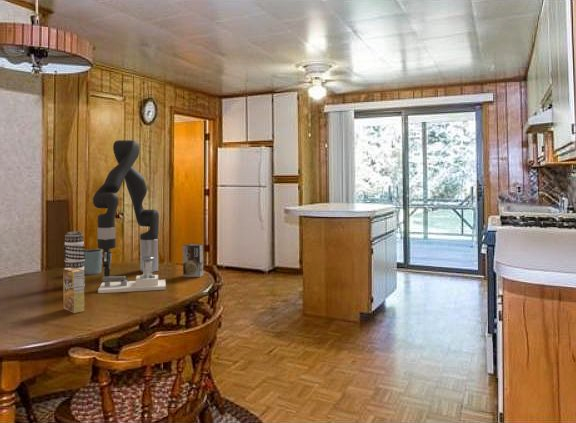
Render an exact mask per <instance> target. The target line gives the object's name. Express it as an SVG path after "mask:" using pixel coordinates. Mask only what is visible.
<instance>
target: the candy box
mask: <svg viewBox="0 0 576 423" xmlns="http://www.w3.org/2000/svg"><path fill="white" fill-rule="evenodd" d="M62 274H63V275H62V277H63V278H62V281H63V282H62V283H63V284H62V286H63V288H62V290H63V293H62V294H63V295H62V296H63V299H62V300H63V309H64V310H66V311H69V312H71V313H72V314H77V313H83V312H85V286H84V284H85V283H84V281H85V280H84V277H85V275H84V270H80V269H76V268H66V267H65V268H63V269H62Z"/></svg>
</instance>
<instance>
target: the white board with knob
mask: <svg viewBox="0 0 576 423" xmlns="http://www.w3.org/2000/svg"><path fill="white" fill-rule="evenodd" d="M166 286H167V284H166V279H159V274H152V278H149V279H143V274H142V275H136V277H135V280H129V281H128V280H127V279H125V280H124V281H123V280H120V281H111V280H104V282H102V283H101V284H100V286H99V287H98V289H97V294H106V293H108V294H110V293H111V294H112V293H128V292H129V293H130V292H145V291H146V292H147V291H163V290H165V291H166Z"/></svg>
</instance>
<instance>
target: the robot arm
mask: <svg viewBox="0 0 576 423" xmlns="http://www.w3.org/2000/svg"><path fill="white" fill-rule="evenodd" d="M112 146H113V147H112V150H113V151H112V152H113V153H114V158H115V159H116V161H117V165H116V166H114V167H113V168H112V169H111V170H110V171H109V173H108V174H107V175H106V178H105V180H104V183H103V184H102V185H101V186H100V187H99V188H98V189H97V191H96V192H95V193H94V195H93V198H92V203H93V206H94V207H95V208H97V209H107V210H106V212H105V213H101V214H99V215H97V230H96V231H97V232H96V233H97V234H96V236H97V237H96V239H97V240H96V242H97V243H96V244H97V249H101V250H102V259H101V260H102V267H103V270H104V271H103V272H104V273H103V274H104V276H105V277H107V276H111V265H112V263H111V262H112V255H113V252H112V251H111V249H115V248H116V247H117V246H116V243H117V242H116V238H117V236H116V227H115V226H116V224H115V223H116V222H115V220H116V219H115V217H116V214H117V210H118V207H119V196H118V194H117V193H118V192H120V190H121V189H120V188H122V185H123V182H125V185H126V187H127V192H128V194H129V197H130V199H131V202H132V205H133V211H134V216H135V220H136V222H137V224H138V226H140V227H148V228H149V229H148V230H147V231H145V232H143V233H140V236H139V238H140V239H139V240H140V241H139V243H140V244H139V246H140V248H139V249H140V250H139V252H140V259H139V260H140V272H142V273H143V260H142V257H154V260H152V273H154V272H157V271H159V231H160V230H159V229H160V228H159V226H160V214H159V212H158V210H156V209H145V208H144V207H143V202H144V199H145V197H146V195H147V192H148V186H147V185H146V181H145V177H143V175H142V174H141V172H140V171H139V170H137V169H136V168H135V167H134V166H133V165H134V164H135V162H136V161H137V159H138V157H139V155H140V146H139V143H138V141H136V140H132V139H131V140H129V139H124V140H121V139H119V140H115V141H114V143H113V145H112Z"/></svg>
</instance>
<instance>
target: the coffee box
mask: <svg viewBox="0 0 576 423" xmlns="http://www.w3.org/2000/svg"><path fill="white" fill-rule="evenodd" d="M182 269H183V270H182V271H183V272H182V277H183V278H201V277H203V276H204V244H203V243H201V244H200V243H197V244H196V243H191V244H190V243H188V244H187V243H186V244H184V245H182Z"/></svg>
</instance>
